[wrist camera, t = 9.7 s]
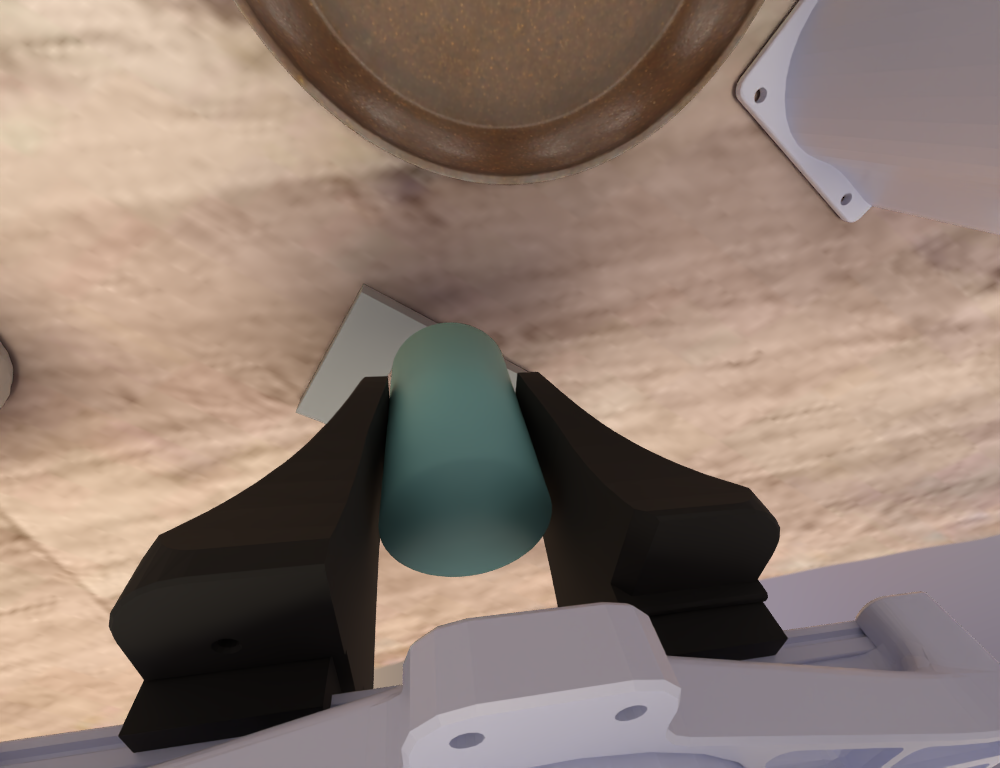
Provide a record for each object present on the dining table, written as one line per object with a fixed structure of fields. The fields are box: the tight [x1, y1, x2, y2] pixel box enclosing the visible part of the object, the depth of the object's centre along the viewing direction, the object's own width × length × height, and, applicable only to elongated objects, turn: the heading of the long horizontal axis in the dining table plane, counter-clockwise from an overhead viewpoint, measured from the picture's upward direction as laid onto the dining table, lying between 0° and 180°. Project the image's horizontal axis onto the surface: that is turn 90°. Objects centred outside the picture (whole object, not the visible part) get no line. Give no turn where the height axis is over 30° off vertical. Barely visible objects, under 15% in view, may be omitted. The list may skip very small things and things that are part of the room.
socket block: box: [296, 284, 528, 424], centre depth 22 cm, size 10×7×1 cm
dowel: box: [378, 323, 552, 577], centre depth 12 cm, size 4×4×6 cm
